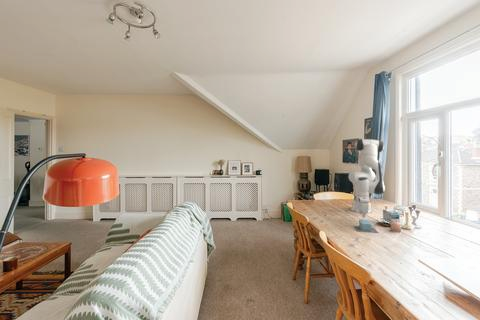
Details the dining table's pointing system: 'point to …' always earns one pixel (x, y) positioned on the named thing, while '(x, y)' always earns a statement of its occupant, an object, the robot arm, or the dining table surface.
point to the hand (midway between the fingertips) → (362, 215)
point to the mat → (365, 231)
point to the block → (365, 225)
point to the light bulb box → (391, 215)
